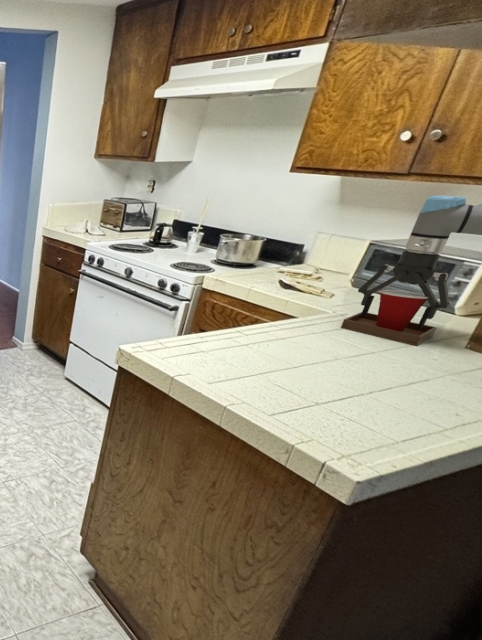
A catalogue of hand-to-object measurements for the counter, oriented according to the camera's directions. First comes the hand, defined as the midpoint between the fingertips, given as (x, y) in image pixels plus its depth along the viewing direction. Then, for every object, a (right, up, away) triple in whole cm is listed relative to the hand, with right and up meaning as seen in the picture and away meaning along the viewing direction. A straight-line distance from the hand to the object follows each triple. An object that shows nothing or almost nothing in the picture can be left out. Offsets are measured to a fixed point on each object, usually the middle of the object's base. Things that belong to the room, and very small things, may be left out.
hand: (390, 322), depth 143 cm
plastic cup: (0, -2, +1) cm, 3 cm away
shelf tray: (0, -3, +1) cm, 3 cm away
